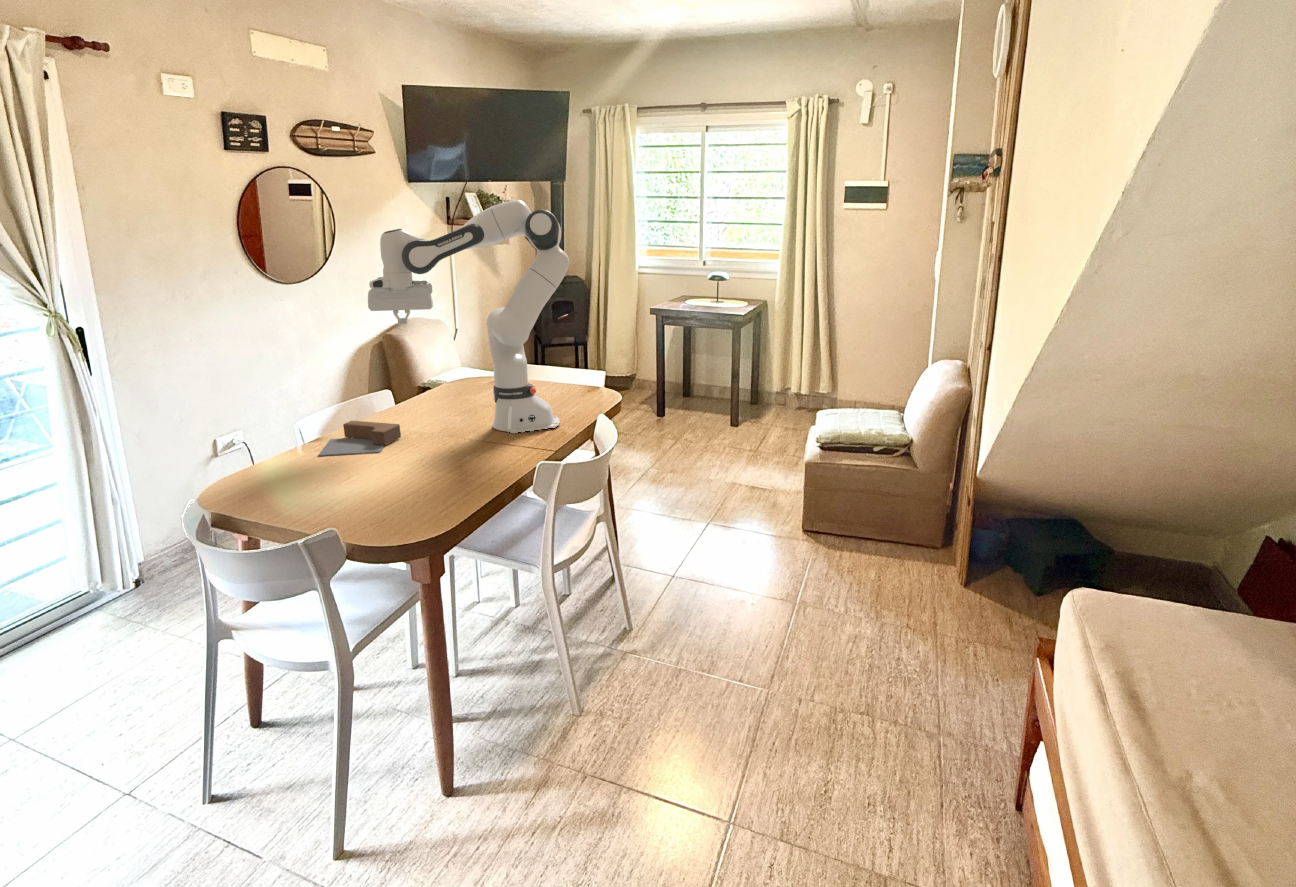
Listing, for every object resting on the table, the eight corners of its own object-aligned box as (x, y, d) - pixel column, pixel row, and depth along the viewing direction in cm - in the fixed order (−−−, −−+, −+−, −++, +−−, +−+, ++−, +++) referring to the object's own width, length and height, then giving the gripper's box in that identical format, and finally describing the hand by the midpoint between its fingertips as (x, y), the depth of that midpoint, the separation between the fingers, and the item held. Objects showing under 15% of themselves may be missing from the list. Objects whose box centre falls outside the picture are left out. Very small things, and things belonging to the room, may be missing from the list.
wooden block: (383, 432, 229) (333, 428, 233) (385, 445, 230) (335, 441, 235) (400, 423, 237) (351, 420, 242) (401, 437, 238) (353, 433, 243)
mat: (389, 436, 240) (389, 435, 240) (380, 452, 225) (380, 451, 225) (330, 440, 237) (330, 439, 237) (318, 456, 222) (318, 455, 222)
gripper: (432, 279, 245) (436, 321, 249) (367, 280, 242) (373, 323, 246) (430, 281, 239) (434, 324, 243) (364, 282, 236) (369, 326, 240)
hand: (403, 323), depth 244 cm, fingers closed
